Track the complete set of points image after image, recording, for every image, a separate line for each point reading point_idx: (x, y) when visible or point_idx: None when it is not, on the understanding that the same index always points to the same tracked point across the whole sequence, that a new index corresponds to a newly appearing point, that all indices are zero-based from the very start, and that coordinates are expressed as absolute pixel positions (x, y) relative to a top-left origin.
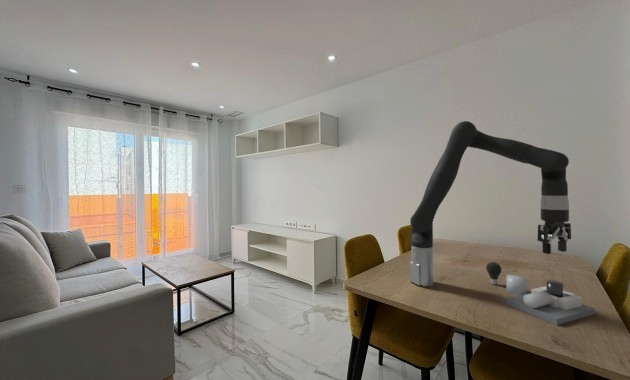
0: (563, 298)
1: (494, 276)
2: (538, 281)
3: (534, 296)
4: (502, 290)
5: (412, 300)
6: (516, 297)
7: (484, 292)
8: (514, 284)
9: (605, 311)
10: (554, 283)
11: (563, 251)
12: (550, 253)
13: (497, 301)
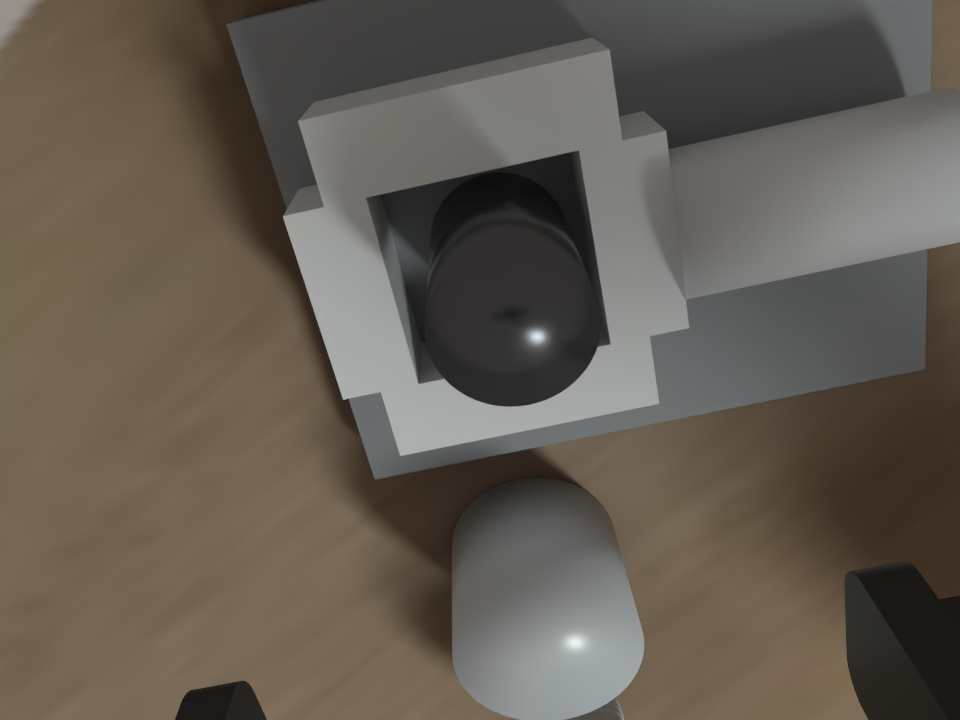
0: (555, 128)
1: None
2: (102, 707)
3: (956, 158)
4: (636, 584)
5: None
6: (790, 377)
7: (841, 568)
8: (622, 571)
9: (61, 59)
10: (552, 299)
11: (256, 697)
12: (865, 569)
13: (917, 398)
